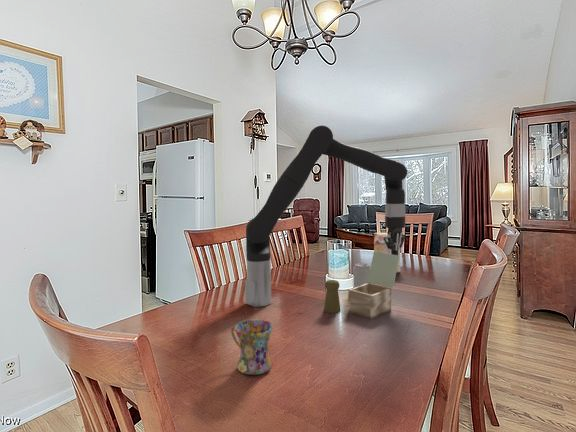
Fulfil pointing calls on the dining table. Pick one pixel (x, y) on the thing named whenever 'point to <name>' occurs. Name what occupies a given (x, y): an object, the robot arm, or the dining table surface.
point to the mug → (253, 346)
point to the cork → (332, 297)
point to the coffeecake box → (383, 246)
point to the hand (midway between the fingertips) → (394, 259)
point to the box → (369, 300)
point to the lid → (383, 269)
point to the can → (360, 274)
